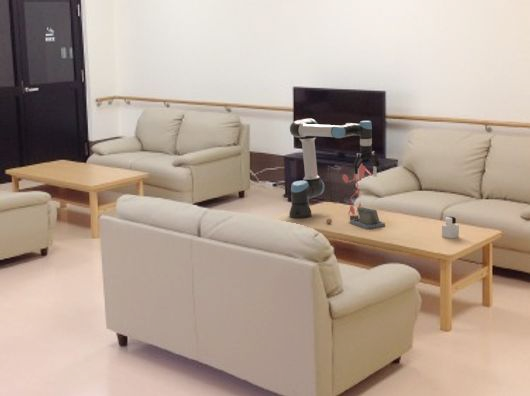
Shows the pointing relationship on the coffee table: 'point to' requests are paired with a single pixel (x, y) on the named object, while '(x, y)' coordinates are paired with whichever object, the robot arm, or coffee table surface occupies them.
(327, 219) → the terracotta ball
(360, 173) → the figurine
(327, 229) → the coffee table surface
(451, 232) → the medicine bottle
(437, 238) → the coffee table surface
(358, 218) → the walnut cube
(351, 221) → the tray
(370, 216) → the digital clock
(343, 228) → the coffee table surface
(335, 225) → the coffee table surface
